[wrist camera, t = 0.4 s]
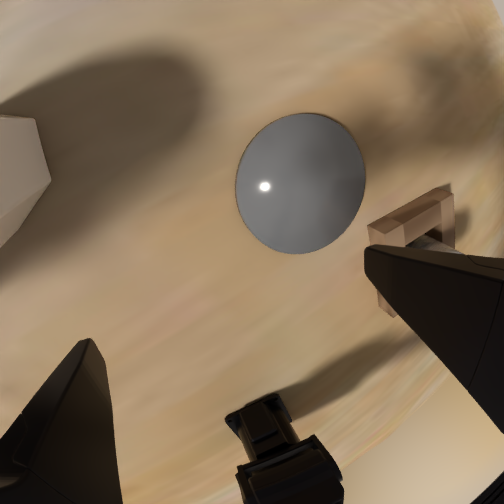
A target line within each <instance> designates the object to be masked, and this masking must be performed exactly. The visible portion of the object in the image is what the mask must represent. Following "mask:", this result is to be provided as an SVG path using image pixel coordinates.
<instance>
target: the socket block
mask: <svg viewBox="0 0 504 504" xmlns="http://www.w3.org/2000/svg"><path fill="white" fill-rule="evenodd" d="M367 226H368V232H369V238H370V244H371V245H374V244H380V245H389V246H398V247H405V245H407V244H408V243H410V242H412V241H413V240H415V239H416V238H418V237H419V236H421V235H423V234H424V233H426V235H427V236H430V237H432V238H434V239H436V240H438V241H440V242H442V243H444V244H446V245H447V246H449V247H451V248H453V249H455V216H454V194H453V193H450V192H447V191H444V190H441V189H438V188H435V189H433V190H431V191H429V192H428V193H426V194H424V195H422V196H421V197H419V198H417V199H415V200H413V201H411V202H410V203H408V204H406V205H404V206H402V207H401V208H399V209H397V210H395V211H393V212H391V213H390V214H388V215H386V216H384V217H382V218H380V219H378V220H377V221H375V222H373V223H371V224H369V225H367ZM377 294H378V302H379V307H380V308H382V309H383V310H384V311H385V312H387V313H388V314H389V315H390V316H391V317H393V318H394V317H395V316H397V315H398V314H397V313H396V312H395V311H394V310H393V309H392V307H391V306H390V305H389V304H388V303H387V301H386V300H385V299H384V298H383V296H382V295H381V294H380V293H379V291H378V290H377Z"/></svg>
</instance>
